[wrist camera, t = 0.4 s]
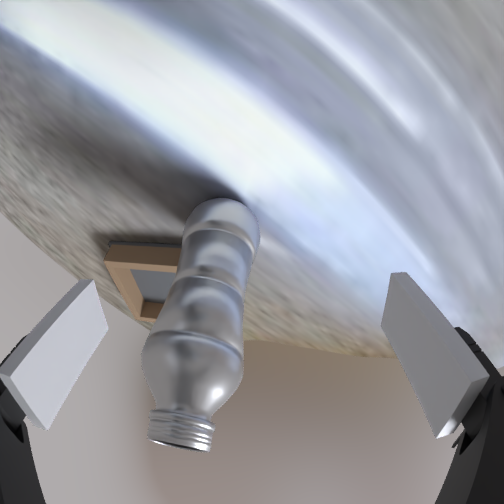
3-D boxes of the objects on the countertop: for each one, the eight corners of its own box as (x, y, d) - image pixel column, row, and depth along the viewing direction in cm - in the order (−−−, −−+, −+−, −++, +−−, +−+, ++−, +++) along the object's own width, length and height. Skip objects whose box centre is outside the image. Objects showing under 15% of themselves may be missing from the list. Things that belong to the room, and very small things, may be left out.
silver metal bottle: (249, 249, 31) (222, 457, 17) (185, 230, 30) (125, 435, 16) (272, 202, 26) (253, 453, 12) (198, 178, 25) (116, 424, 11)
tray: (109, 241, 32) (99, 260, 30) (209, 246, 31) (204, 268, 29) (138, 301, 40) (132, 319, 38) (220, 310, 40) (217, 329, 37)
